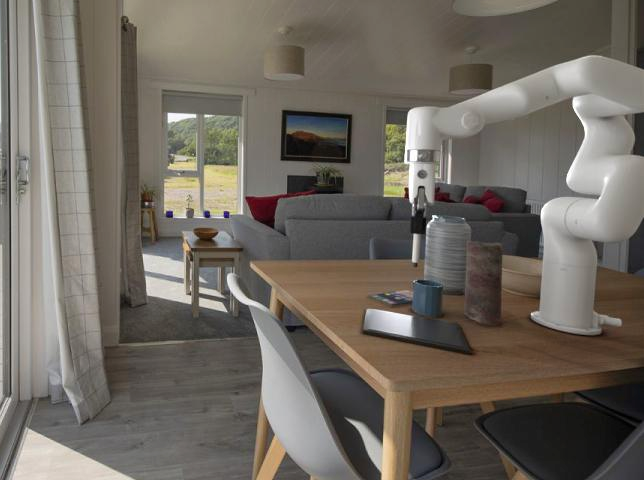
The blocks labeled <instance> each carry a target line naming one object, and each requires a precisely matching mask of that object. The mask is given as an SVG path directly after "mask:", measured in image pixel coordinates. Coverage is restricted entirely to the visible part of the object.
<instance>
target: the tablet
mask: <svg viewBox="0 0 644 480" xmlns="http://www.w3.org/2000/svg"><path fill="white" fill-rule="evenodd" d="M362 333H363V334H365V335H368V336H374V337H379V338H384V339H390V340H395V341H399V342H404V343H408V344H415V345H420V346H425V347H430V348H435V349H439V350H445V351H446V350H447V351H451V352H455V353H460V354H465V355H471V352H472V351H471V348H470V347H469V344H468V342H467V340H466V337H465V335H464V334H463V331H462V329H461V327H460V324H459V323H457V322H451V321H445V320H439V319H433V318H428V317H422V316H417V315H409V314H404V313H398V312H394V311H393V312H392V311H388V310H387V311H386V310H381V309H374V308H369V307H367V308H366V311H365V317H364V324H363V331H362Z"/></svg>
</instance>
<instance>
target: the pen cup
mask: <svg viewBox="0 0 644 480" xmlns="http://www.w3.org/2000/svg"><path fill="white" fill-rule="evenodd" d="M412 291H413V298H412V303H411V310H412V311H413V312H415V313H416V314H420V315H423V316H427V317H440V316H442V315H443V300H444V299H443V298H444V293H443V284H441V283H439V282H436V281H431V280H424V278H423V279H422V278H421V279H420V278H417V279H416V278H415V279H413V281H412Z"/></svg>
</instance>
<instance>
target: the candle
mask: <svg viewBox="0 0 644 480" xmlns="http://www.w3.org/2000/svg"><path fill="white" fill-rule="evenodd" d="M503 251H504V248H503V244H502V243H499V242H494V243H489V242H480V241H477V240H471V241H467V265H466V286H465V290H464V314H465V316H467V317H468V318H469V319H470V320H473V321H475V322H477V323H479V324H482V325H483V324H484V325H491V326H492V325H493V326H498V325H499V324H500V323H501V321H502V285H503V284H502V283H503V282H502V281H503Z"/></svg>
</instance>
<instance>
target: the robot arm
mask: <svg viewBox="0 0 644 480" xmlns="http://www.w3.org/2000/svg"><path fill="white" fill-rule="evenodd" d="M571 98H572V108H573V110H574V112H575V113H576V115H577V116H578V118H579V119H580V122H581V123H582V125H583V128H584V138H583V140H582V143H581V145H580V147H579V150H578V151H577V154H576V155H575V158H574V160H573V161H572V164H571V166H570V168H569V169H568V173H567V176H566V185H567V187H568V188H569V189H570V190H572V191H573V192H575V193H577V194H582V195H588V196H597V197H598V196H599V198H590V197H579V196H560V197H556V198H552V199H551V200H549V201H547V202H546V203H545V204H544V205H543V207H542V208H541V211H540V224H541V229H542V235H543V254H542V255H543V257H542V267H541V268H542V270H541V281H540V282H541V283H540V297H539V298H540V299H539V310H538V311H537V310H536V311H533V312H531V313H530V319H531V320H532V321H534V322H535V323H537V324H539V325H541V326H544V327H547V328H550V329H553V330H557V331H560V332H563V333H569V334H574V335H582V336H597V335H598V336H599V335H601V334H602V331H603V329H602V326H604V325H606V326H610V327H615V328H622V326H623V322H622V319H621V318H618V317H617V318H616V317H612V316H611V317H610V316H608V315H606V314H599V313H598V312H596V311H595V310H594V307H595V295H596V283H597V270H598V269H597V267H598V253H597V249H596V246H595V244H594V242H600V243H605V244H619V243H622V242H625V241H627V240H629V239H630V238H631V237H632V236H634V234H635V233H636V232H637V230H638V228H639V227H640V225H641V223H642V221H643V219H644V156H641V155H638V154H637V155H636V154H631V153H632V150H633V148H634V145H635V142H636V135H635V132H634V130H633V127H632V126H631V125H630V123H629V122H628V121H627V119H626V118H625V115H626V116H627V115H633V114H641V113H644V69H643V68H640V67H638V66H635V65H632V64H629V63H626V62H624V61H620V60H617V59H613V58H611V57H607V56H602V55H586V56H582V57H579V58H576V59H572V60H569V61H566V62H562V63H559V64H556V65H555V64H554V65H552V66H550V67H547V68H545V69H542V70H540V71H537V72H534V73H532V74H530V75H527V76H524V77H523V78H519V79H517V80H514V81H512V82H509V83H507V84H504V85H501V86H498V87H496V88H494V89H491V90H488V91H487V92H484V93H482V94H480V95H477V96H474V97H472V98H468V99H467V100H464V101H461V102H458V103H456V104H453V105H451V106H448V107H439V106H430V105H427V106H417V107H413V108H411V109H410V110H409V111H408V112H407V120H406V133H405V151H404V165H409V176H408V177H409V178H408V198H409V203H410V204H411V206H412V207H411V215H410V221H409V232H410V234H413V235H414V234H421V235H426V230H427V206H428V205H429V206H431V207H432V206H434V205H435V187H436V166H439V165H441V157H442V151H441V150H442V141H447V140H460V139H466V138H470V137H473V136H476V135H477V134H478V133H479V132H481V130H482V129H483V128H484V126H487V125H490V124H496V123H501V122H506V121H511V120H515V119H518V118H521V117H524V116H527V115H529V114H532V113H534V112H536V111H538V110H541V109H544V108H547V107H549V106H552V105H555V104H557V103H560V102H562V101H565V100H568V99H571ZM427 204H428V205H427ZM415 211H416V212H415ZM593 241H594V242H593Z"/></svg>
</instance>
